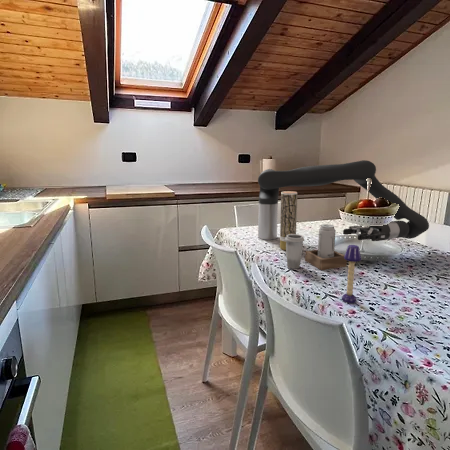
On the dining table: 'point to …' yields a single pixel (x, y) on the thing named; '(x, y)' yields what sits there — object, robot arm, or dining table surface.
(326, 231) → the energy drink can
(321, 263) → the wooden tray
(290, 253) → the cup
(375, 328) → the dining table surface
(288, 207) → the bark patterned cylinder
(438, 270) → the dining table surface
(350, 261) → the toy lamp
